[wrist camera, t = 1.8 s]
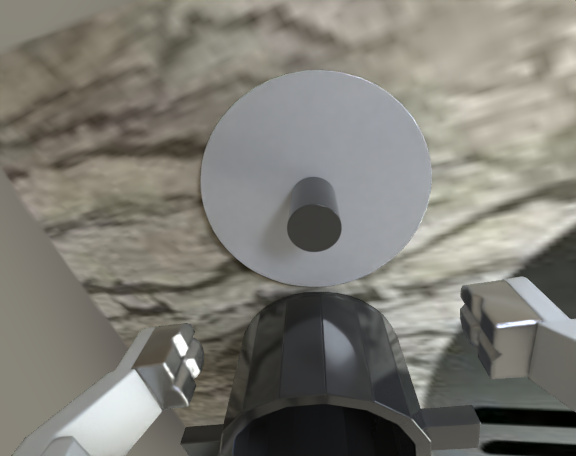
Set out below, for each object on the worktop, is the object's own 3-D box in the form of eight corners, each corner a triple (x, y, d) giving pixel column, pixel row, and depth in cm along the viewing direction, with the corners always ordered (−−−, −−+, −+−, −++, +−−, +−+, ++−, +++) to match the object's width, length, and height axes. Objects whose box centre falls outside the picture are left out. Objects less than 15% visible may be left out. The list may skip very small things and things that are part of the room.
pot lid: (171, 102, 16) (124, 118, 12) (422, 38, 14) (469, 29, 10) (242, 288, 21) (226, 342, 17) (427, 261, 19) (458, 314, 15)
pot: (188, 308, 22) (140, 410, 16) (433, 274, 20) (496, 379, 13) (236, 404, 28) (215, 510, 21) (435, 387, 25) (479, 501, 19)
